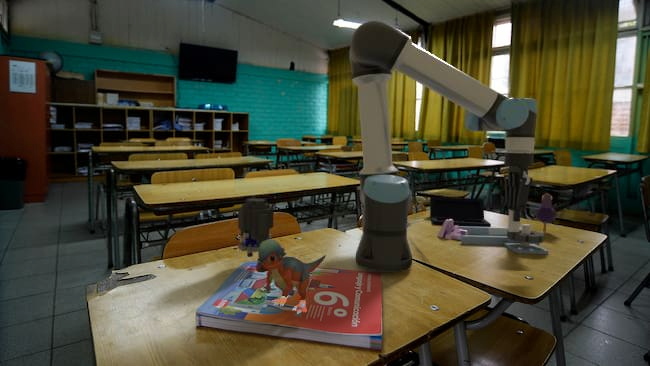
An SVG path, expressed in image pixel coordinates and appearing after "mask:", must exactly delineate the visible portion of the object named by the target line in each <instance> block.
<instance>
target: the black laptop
mask: <svg viewBox="0 0 650 366" xmlns="http://www.w3.org/2000/svg"><path fill="white" fill-rule="evenodd" d="M429 202H430V203H429V208H430V209H429V211H430V212H429V217H430V220H431V223H432V225H435V226H443V224H444V222H445V220H449V219H453V222H454V226H455V225H458V226H467V227H492V226H491V225H492V224H491V223H490V222H489V221H487V220H486V219H485V207H484V205H485V203H484V198H466V197H443V196H441V197H440V196H439V197H438V196H437V197H436V196H430V198H429Z"/></svg>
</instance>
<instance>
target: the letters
mask: <svg viewBox="0 0 650 366" xmlns="http://www.w3.org/2000/svg"><path fill="white" fill-rule="evenodd" d="M462 235H469V234H468V231H466V230H461V229H460V227H459V226H458V225H455V226H454V222H453V219H449V220H445V222H444V224H443V225H441V227H440V229H439V232H438V234H437V235H436V237H440V238H445V239H446V240H458V241H461V236H462Z"/></svg>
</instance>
